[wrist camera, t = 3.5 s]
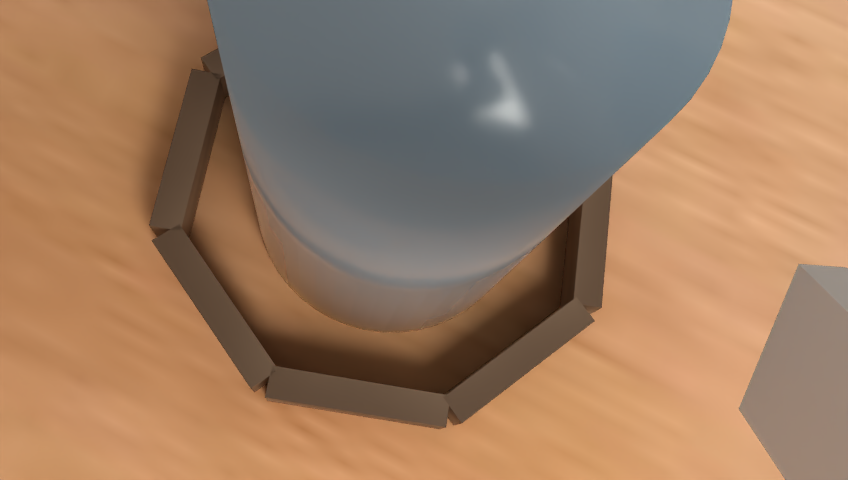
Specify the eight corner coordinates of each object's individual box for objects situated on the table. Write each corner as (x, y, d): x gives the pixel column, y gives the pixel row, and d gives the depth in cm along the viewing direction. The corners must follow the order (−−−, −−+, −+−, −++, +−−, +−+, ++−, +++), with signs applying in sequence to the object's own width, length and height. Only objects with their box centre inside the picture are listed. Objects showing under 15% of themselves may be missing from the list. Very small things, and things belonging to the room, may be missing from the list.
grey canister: (516, 341, 21) (753, 208, 10) (242, 322, 20) (153, 152, 9) (520, 34, 24) (709, -347, 13) (279, 6, 23) (246, -433, 12)
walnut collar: (673, 255, 23) (692, 245, 22) (336, 514, 19) (338, 518, 18) (434, -47, 24) (440, -72, 23) (87, 143, 21) (74, 125, 20)
